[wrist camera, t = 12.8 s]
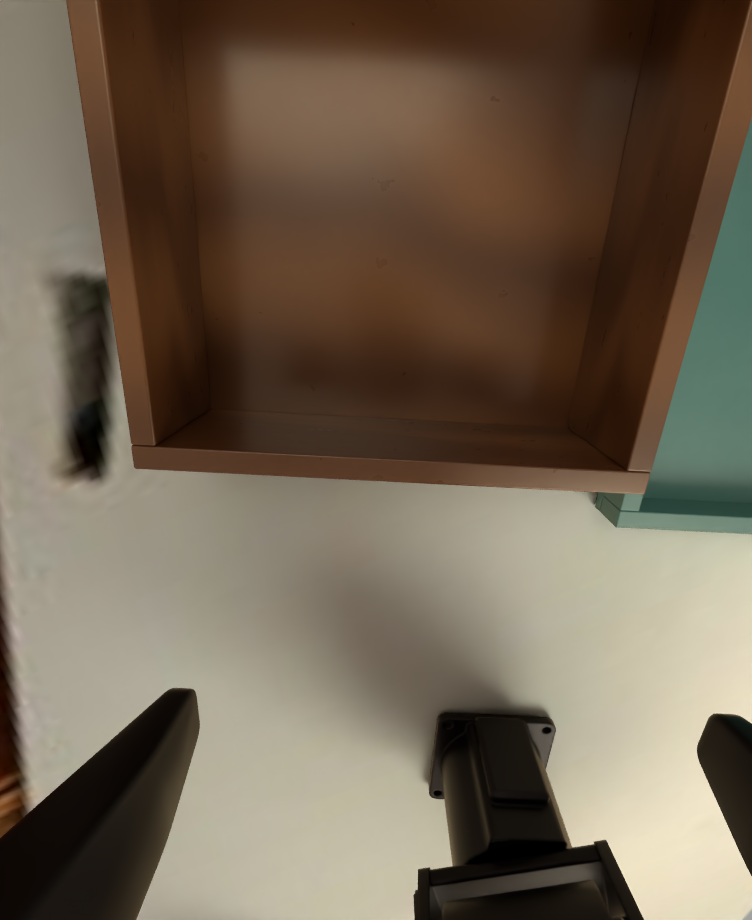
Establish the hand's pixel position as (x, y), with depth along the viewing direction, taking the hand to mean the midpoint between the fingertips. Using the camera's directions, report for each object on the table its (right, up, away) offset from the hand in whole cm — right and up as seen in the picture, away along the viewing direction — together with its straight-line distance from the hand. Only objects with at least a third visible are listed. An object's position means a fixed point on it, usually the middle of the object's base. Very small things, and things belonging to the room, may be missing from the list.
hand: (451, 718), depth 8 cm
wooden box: (0, +13, +9) cm, 16 cm away
